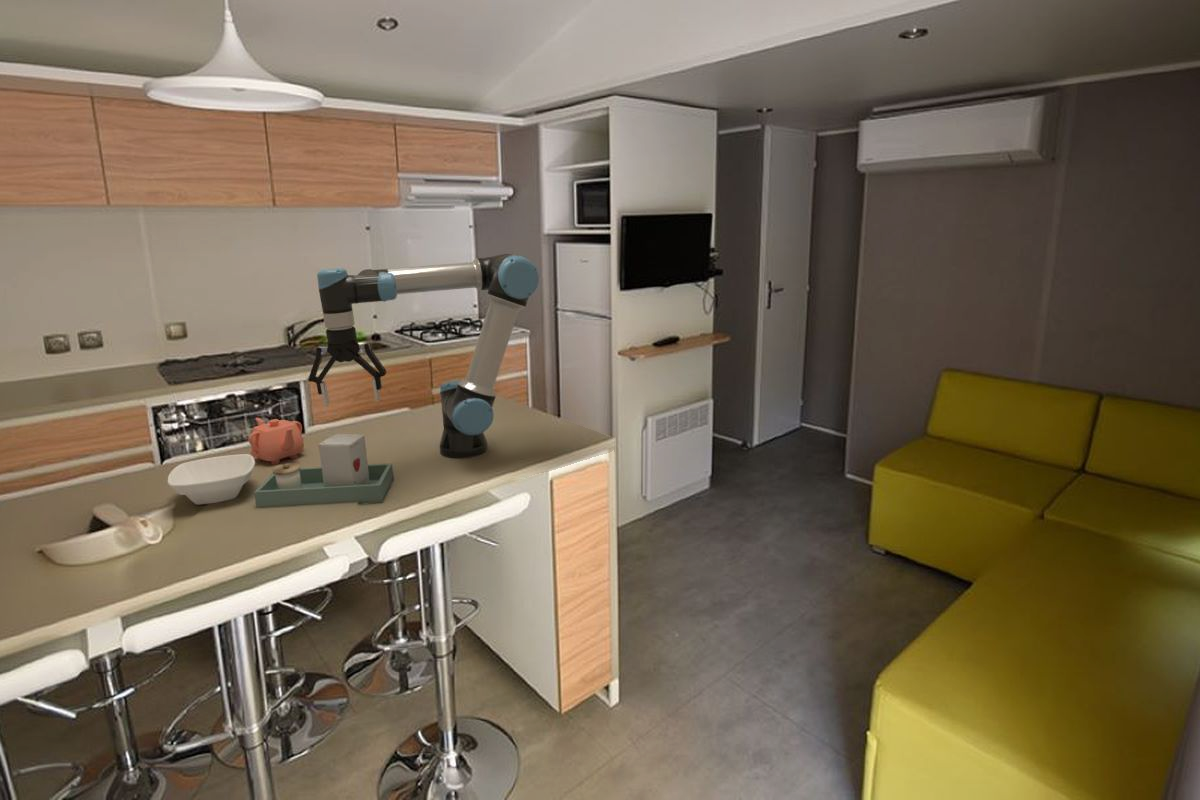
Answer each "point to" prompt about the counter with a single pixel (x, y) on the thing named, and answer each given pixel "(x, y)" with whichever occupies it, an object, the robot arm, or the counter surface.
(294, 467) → the lid
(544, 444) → the counter surface
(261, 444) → the teapot
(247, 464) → the bowl
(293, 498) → the tray
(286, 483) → the jar
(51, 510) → the counter surface
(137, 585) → the counter surface
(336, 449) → the supplement box
